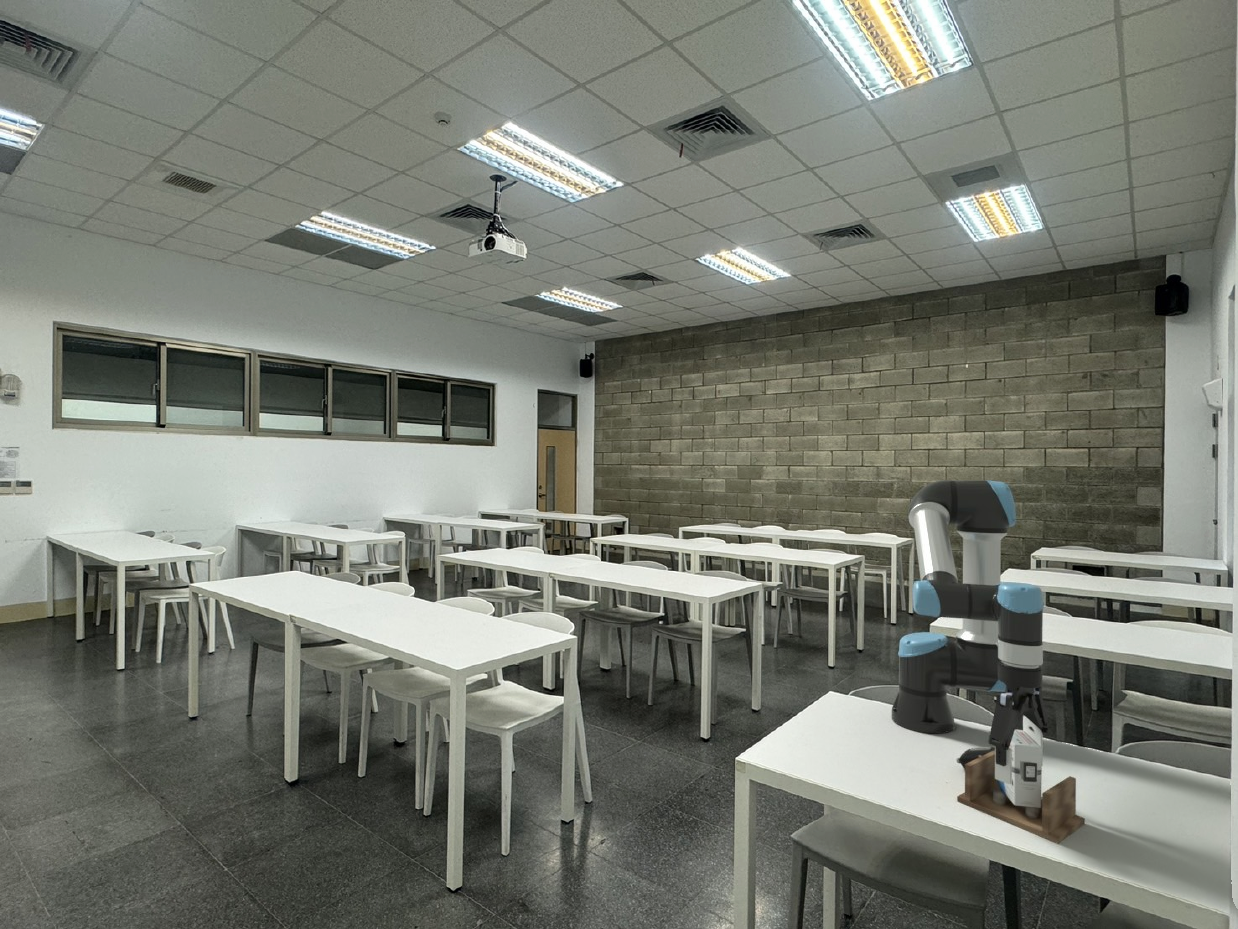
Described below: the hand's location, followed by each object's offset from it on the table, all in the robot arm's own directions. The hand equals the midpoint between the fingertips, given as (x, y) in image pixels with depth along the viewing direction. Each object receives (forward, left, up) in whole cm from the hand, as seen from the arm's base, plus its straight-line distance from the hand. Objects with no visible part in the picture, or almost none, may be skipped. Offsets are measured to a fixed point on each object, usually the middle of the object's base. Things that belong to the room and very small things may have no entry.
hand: (1019, 772), depth 127 cm
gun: (-10, -9, -8) cm, 16 cm away
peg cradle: (0, 0, -8) cm, 8 cm away
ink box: (0, 0, -5) cm, 5 cm away
